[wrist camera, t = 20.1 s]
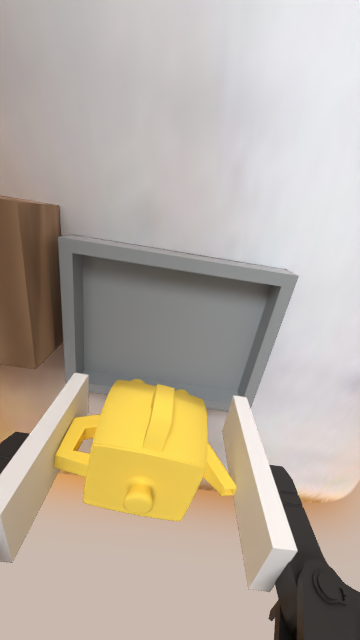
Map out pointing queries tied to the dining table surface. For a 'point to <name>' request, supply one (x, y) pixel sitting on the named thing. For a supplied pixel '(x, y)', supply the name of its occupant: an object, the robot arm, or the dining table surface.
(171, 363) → the tray
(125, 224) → the dining table surface
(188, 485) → the teapot
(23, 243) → the wooden square hole block
